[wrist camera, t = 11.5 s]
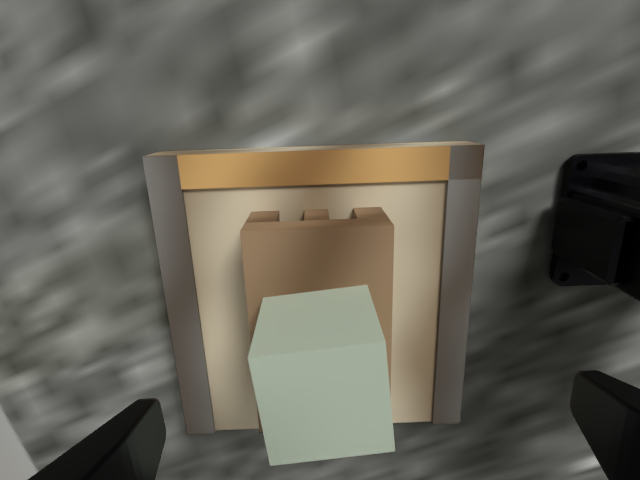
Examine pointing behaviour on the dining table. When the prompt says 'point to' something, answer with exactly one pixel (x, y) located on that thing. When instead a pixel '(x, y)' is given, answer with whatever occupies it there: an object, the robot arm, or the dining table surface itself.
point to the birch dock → (291, 201)
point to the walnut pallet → (319, 259)
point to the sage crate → (321, 376)
